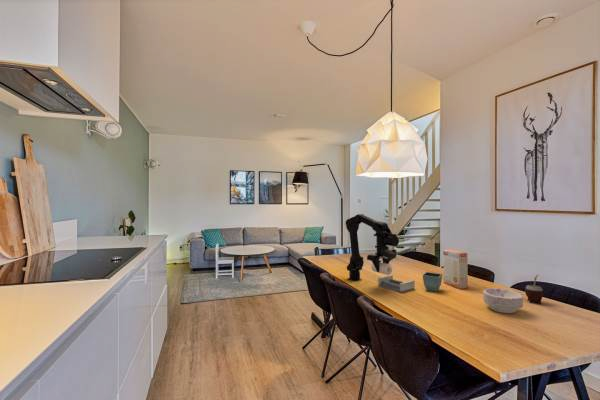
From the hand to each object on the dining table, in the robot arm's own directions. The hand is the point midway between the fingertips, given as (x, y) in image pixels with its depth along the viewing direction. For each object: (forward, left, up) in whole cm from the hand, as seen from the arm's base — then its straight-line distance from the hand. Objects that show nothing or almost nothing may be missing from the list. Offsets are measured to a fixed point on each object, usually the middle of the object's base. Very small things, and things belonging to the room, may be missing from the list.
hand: (381, 271), depth 171 cm
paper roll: (0, 0, +2) cm, 2 cm away
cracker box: (+22, +40, -10) cm, 47 cm away
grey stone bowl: (+55, +19, -10) cm, 59 cm away
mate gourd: (+60, +43, -10) cm, 74 cm away
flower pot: (+19, +21, -10) cm, 30 cm away
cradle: (+4, +8, -10) cm, 14 cm away
